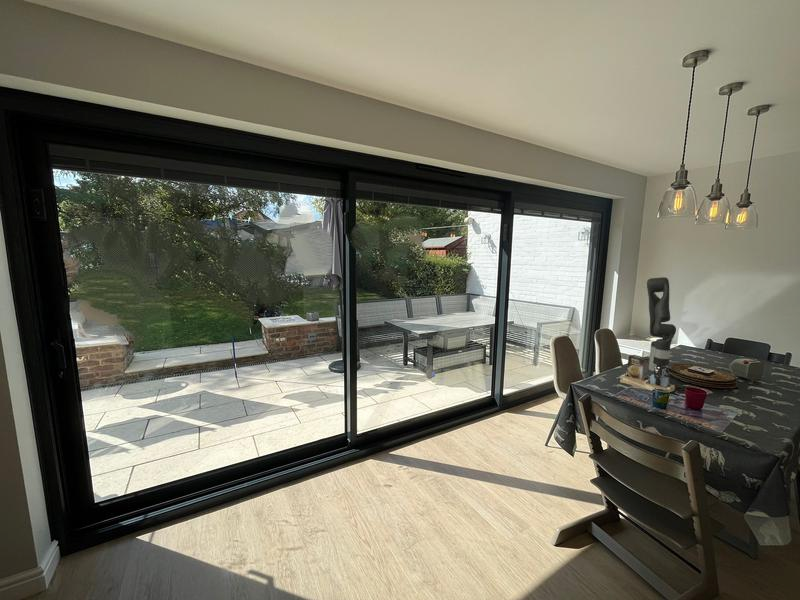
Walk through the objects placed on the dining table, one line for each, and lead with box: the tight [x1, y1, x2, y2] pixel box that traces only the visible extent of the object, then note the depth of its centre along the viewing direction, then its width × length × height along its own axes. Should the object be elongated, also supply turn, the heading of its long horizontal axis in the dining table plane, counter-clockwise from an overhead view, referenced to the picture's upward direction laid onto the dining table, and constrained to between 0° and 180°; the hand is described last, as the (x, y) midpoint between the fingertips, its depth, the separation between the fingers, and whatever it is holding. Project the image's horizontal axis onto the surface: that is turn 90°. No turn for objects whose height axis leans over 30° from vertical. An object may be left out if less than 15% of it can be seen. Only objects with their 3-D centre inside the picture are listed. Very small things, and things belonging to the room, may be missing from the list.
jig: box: [619, 372, 676, 393], centre depth 205 cm, size 13×25×4 cm, turn 36°
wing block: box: [649, 373, 670, 387], centre depth 200 cm, size 4×8×5 cm, turn 40°
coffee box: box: [626, 354, 650, 381], centre depth 209 cm, size 9×6×16 cm
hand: (658, 383), depth 200 cm, fingers closed on wing block, 4 cm apart
